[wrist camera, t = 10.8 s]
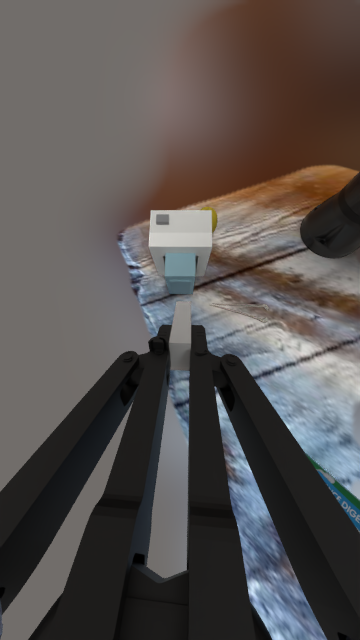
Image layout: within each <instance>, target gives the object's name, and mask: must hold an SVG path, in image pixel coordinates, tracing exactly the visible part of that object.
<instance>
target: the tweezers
mask: <svg viewBox="0 0 360 640" xmlns="http://www.w3.org/2000/svg"><path fill="white" fill-rule="evenodd" d="M212 304H214V303H212ZM217 305H235V306H244V307H263V308H265V309H266V310H268V306H267V305H266V304H262V305H259V306H256V305H254V304H217ZM211 306H213V305H211ZM214 307H218V306H214ZM218 308H223V307H218ZM223 309H226V310H230V311H234V312H237V313H240V314H244V315H247V316H249V317H252V318H255V319H257V320H260V321H261V322H264V323H266V322H267V319H268V318H264V319H260V318H257V317H255V316H252V315H248V314H245V313H241V312H238V311H235V310H231V309H227V308H223Z"/></svg>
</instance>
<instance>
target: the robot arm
mask: <svg viewBox="0 0 360 640" xmlns="http://www.w3.org/2000/svg"><path fill="white" fill-rule="evenodd" d="M301 236H302V239H303V241H304V242H305V244H306V245H307V246H308V247H309V248H310V249H311V250H312V251H313V252H315V253H317V254H318V255H321V256H324V257H328V258H339V257H343V256H346V255H348V254H350V253H351V252H353V251H355V250H356V249H358V248H359V247H360V172H359V173H358V174H357V175H356V176H355V177H354V178H353V179H352V180H351V181H350V182H349V183H348V184H347V185H346V186H345V187H344V188H343V189H342V190H341V191H340V192H338V193H337V194H335V195H334V196H332V197H331V198H329V199H327V200H326V201H324V202H323V203H322V204H320V205H318V206H317V207H315V208H314V209H313V210H312V211H311V212H310V213H309V214H308V215H307V216H306V217H305V218H304V220H303V222H302V224H301ZM148 343H149V349H150V352H148V353H145V354H141V355H138V354H137V353H136V352H134V351H128V352H125V353H123V354H121V355H120V356H119V358H117V360H116V361H115V362H114V363H113V364H112V365H111V366H110V368H109V369H108V370H107V371H106V372H105V374H104V375H103V376H102V377H101V378H100V379H99V380H98V381H97V382H96V384H95V385H94V386H93V387H92V388H91V389H90V391H88V393H87V394H86V395H85V396H84V397H83V398H82V400H81V401H80V402H79V403H78V404H77V405H76V406H75V407H74V409H73V410H72V411H71V412H70V413H69V414H68V415H67V417H66V418H65V419H64V420H63V421H62V422H61V423H60V425H59V426H58V427H57V428H56V429H55V430H54V431H53V433H52V434H51V435H50V436H49V437H48V438H47V439H46V441H45V442H44V443H43V444H42V445H41V446H40V447H39V448H38V450H37V451H36V452H35V453H34V454H33V455H32V456H31V458H30V459H29V460H28V461H27V462H26V463H25V464H24V466H23V467H22V468H21V469H20V470H19V471H18V472H17V473H16V475H15V476H14V477H13V478H12V479H11V480H10V481H9V483H8V484H7V485H6V486H5V487H4V488H3V490H2V491H1V492H0V638H1V635H2V628H3V624H2V614H3V613H4V612H5V610H6V609H7V608H8V606H9V605H10V604H11V602H12V601H13V600H14V598H15V597H16V596H17V594H18V593H19V592H20V590H21V589H22V587H23V586H24V585H25V583H26V582H27V580H28V579H29V577H30V576H31V574H32V573H33V571H34V570H35V568H36V567H37V565H38V564H39V562H40V560H41V559H42V557H43V555H44V554H45V552H46V551H47V549H48V547H49V546H50V544H51V543H52V541H53V539H54V537H55V536H56V533H57V532H58V530H59V529H60V527H61V525H62V523H63V522H64V520H65V518H66V517H67V515H68V513H69V511H70V510H71V508H72V506H73V504H74V503H75V501H76V499H77V497H78V496H79V494H80V492H81V490H82V489H83V487H84V485H85V483H86V482H87V480H88V478H89V477H90V475H91V473H92V471H93V470H94V468H95V466H96V464H97V463H98V461H99V459H100V458H101V456H102V454H103V452H104V451H105V449H106V447H107V445H108V444H109V442H110V440H111V439H112V437H113V435H114V433H115V432H116V430H117V428H118V426H119V425H120V423H121V421H122V420H123V418H124V416H125V414H126V413H127V411H128V409H129V407H130V406H131V404H132V402H133V404H132V408H131V411H130V414H129V417H128V420H127V423H126V426H125V429H124V432H123V436H122V439H121V442H120V445H119V448H118V451H117V454H116V457H115V460H114V463H113V466H112V470H111V473H110V476H109V479H108V482H107V485H106V488H105V491H104V494H103V495H102V497H101V499H100V500H99V502H98V503H97V504H96V505H95V507H94V509H93V511H92V513H91V515H90V518H89V520H88V523H87V525H86V528H85V531H84V534H83V536H82V540H81V542H80V545H79V548H78V551H77V554H76V557H75V559H74V562H73V565H72V568H71V571H70V574H69V577H68V580H67V583H66V586H65V588H64V591H63V593H62V594H61V596H60V597H59V598H58V599H57V601H56V602H55V603H54V604H53V606H52V607H51V608H50V610H49V611H48V613H47V614H46V616H45V617H44V618H43V620H42V621H41V622H40V624H39V625H38V627H37V628H36V629H35V631H34V632H33V634H32V635H31V636H30V638H29V639H28V640H272V638H271V636H270V634H269V632H268V630H267V628H266V626H265V624H264V623H263V621H262V619H261V618H260V616H259V614H258V613H257V611H256V609H255V608H254V607H253V605H252V604H251V602H250V600H249V594H248V587H247V581H246V574H245V568H244V561H243V555H242V548H241V542H240V536H239V531H238V526H237V522H236V519H235V516H234V513H233V510H232V506H231V500H230V494H229V487H228V480H227V473H226V465H225V458H224V451H223V444H222V437H221V430H220V423H219V416H218V409H217V402H216V395H215V388H214V386H216V387H217V390H218V392H219V395H220V397H221V399H222V402H223V404H224V407H225V409H226V411H227V414H228V416H229V418H230V421H231V423H232V426H233V428H234V430H235V433H236V435H237V437H238V440H239V442H240V445H241V447H242V449H243V452H244V454H245V456H246V459H247V461H248V464H249V466H250V468H251V471H252V473H253V475H254V478H255V480H256V483H257V485H258V487H259V490H260V492H261V494H262V497H263V499H264V502H265V504H266V506H267V509H268V511H269V513H270V516H271V518H272V520H273V523H274V525H275V528H276V530H277V532H278V535H279V537H280V539H281V542H282V544H283V547H284V549H285V551H286V554H287V556H288V558H289V561H290V563H291V566H292V568H293V570H294V573H295V575H296V577H297V579H298V581H299V584H300V586H301V588H302V590H303V592H304V595H305V597H306V599H307V601H308V603H309V605H310V607H311V609H312V611H313V613H314V615H315V617H316V619H317V621H318V623H319V625H320V626H321V628H322V630H323V632H324V634H325V636H326V638H327V640H360V532H359V531H358V529H357V528H356V527H355V525H354V524H353V522H352V521H351V519H350V518H349V516H348V515H347V513H346V512H345V511H344V509H343V508H342V506H341V505H340V503H339V502H338V500H337V499H336V497H335V496H334V495H333V493H332V492H331V490H330V489H329V487H328V486H327V484H326V483H325V482H324V480H323V479H322V477H321V476H320V474H319V473H318V471H317V470H316V468H315V467H314V466H313V464H312V463H311V461H310V460H309V458H308V457H307V455H306V454H305V452H304V451H303V450H302V448H301V447H300V445H299V444H298V442H297V441H296V439H295V438H294V436H293V435H292V434H291V432H290V431H289V429H288V428H287V426H286V425H285V423H284V422H283V421H282V419H281V418H280V416H279V415H278V413H277V412H276V410H275V409H274V407H273V406H272V405H271V403H270V402H269V400H268V399H267V397H266V396H265V394H264V393H263V391H262V390H261V389H260V387H259V386H258V384H257V383H256V381H255V380H254V378H253V377H252V376H251V374H250V373H249V371H248V370H247V368H246V367H245V365H244V364H243V362H242V361H241V360H240V359H239V358H238V357H237V356H235V355H232V354H226V355H223V356H222V357H218V356H215V355H213V354H211V353H210V352H209V350H208V348H207V341H206V333H205V328H204V327H203V326H202V325H191V302H187V301H177V302H176V307H175V313H174V318H173V323H172V325H162V326H161V327H160V328H159V331H158V334H157V336H156V337H153V338H151V339H150V340H149V342H148ZM170 368H171V370H185V371H190V377H189V457H188V460H189V461H188V527H187V528H188V529H187V530H188V531H187V570H186V571H184V572H181V573H179V574H176V575H174V576H171V577H168V578H162V577H161V576H159V575H158V574H156V573H155V572H153V571H152V570H150V569H149V568H148V567H146V566H147V558H148V551H149V543H150V534H151V519H152V518H151V517H152V507H153V500H154V492H155V485H156V477H157V470H158V462H159V455H160V447H161V440H162V432H163V425H164V418H165V410H166V403H167V395H168V388H169V381H170ZM133 400H134V401H133Z"/></svg>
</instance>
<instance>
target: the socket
mask: <svg viewBox="0 0 360 640" xmlns="http://www.w3.org/2000/svg"><path fill="white" fill-rule="evenodd" d="M149 249H150V252H151V255H152V258H153V260H154V263H155V266H156V269H157V272H158V275H159V276H165V256H166V253H195V276H204V275H205V271H206V267H207V264H208V260H209V257H210V253H211V249H212V210H166V211H165V210H164V211H163V210H161V211H151V219H150V234H149Z"/></svg>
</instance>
